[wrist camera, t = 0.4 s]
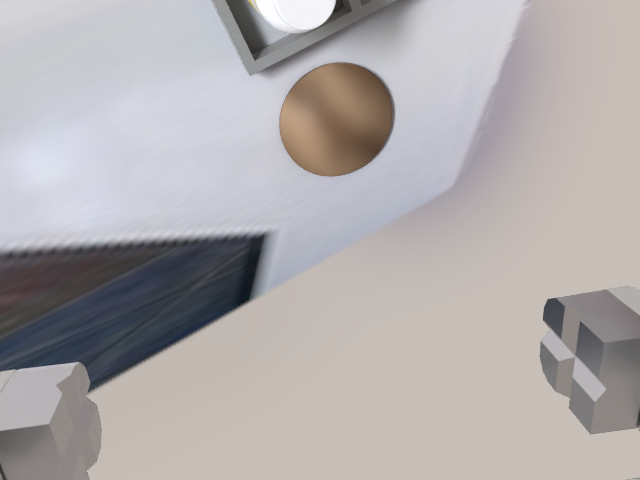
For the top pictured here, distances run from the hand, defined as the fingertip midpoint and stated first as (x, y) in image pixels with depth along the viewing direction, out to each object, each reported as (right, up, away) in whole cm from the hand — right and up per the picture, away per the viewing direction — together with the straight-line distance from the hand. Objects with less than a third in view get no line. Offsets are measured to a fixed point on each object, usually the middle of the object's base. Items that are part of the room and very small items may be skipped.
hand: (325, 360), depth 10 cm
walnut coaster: (+2, +15, +50) cm, 52 cm away
